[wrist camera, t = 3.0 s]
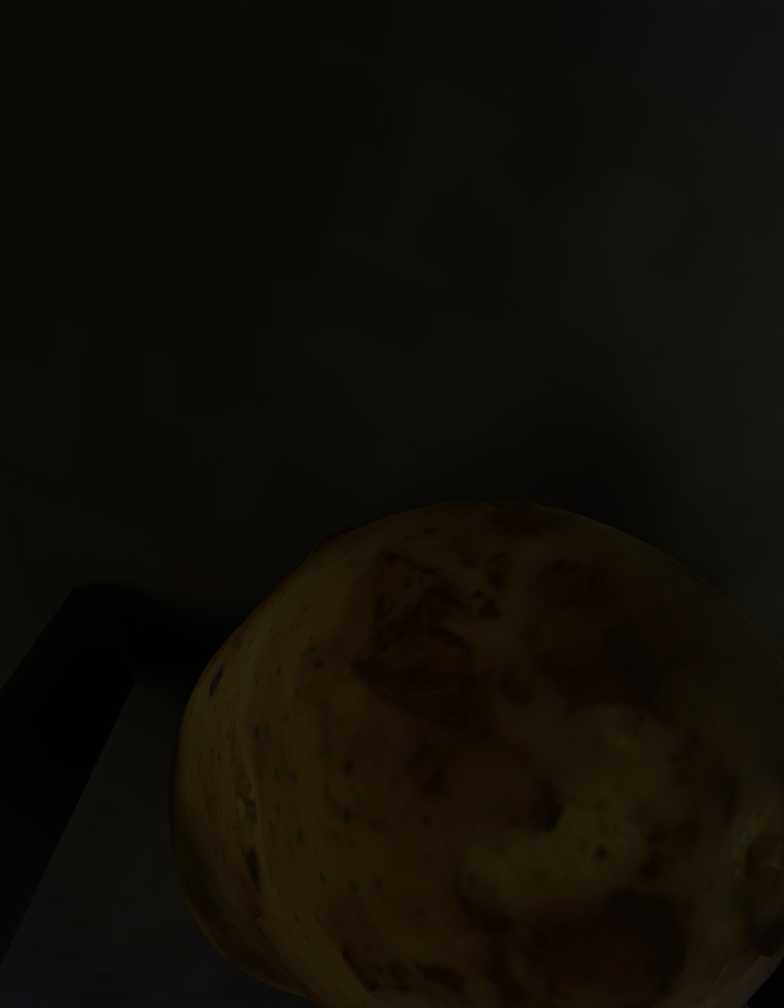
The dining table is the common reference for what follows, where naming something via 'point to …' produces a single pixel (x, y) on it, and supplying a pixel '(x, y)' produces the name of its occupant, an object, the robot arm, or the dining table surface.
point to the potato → (488, 773)
